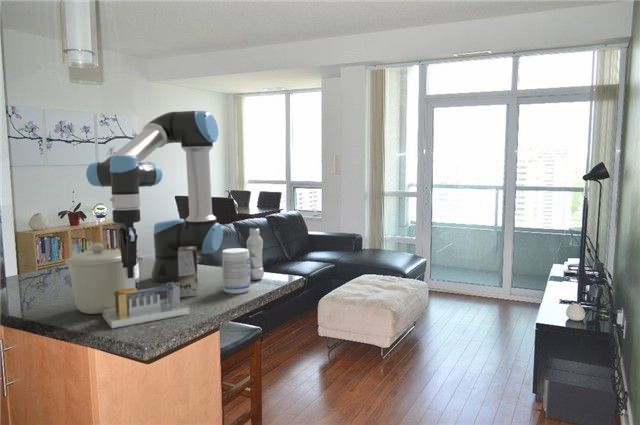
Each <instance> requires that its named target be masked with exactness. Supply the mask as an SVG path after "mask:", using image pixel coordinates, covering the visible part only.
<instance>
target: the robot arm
mask: <svg viewBox="0 0 640 425" xmlns="http://www.w3.org/2000/svg"><path fill="white" fill-rule="evenodd" d="M218 137H219V127H218V122H217V120H216V118H215V117H214V115H213V114H212V113H211V112H209V111H208V110H207V111H206V110H185V111H170V112H166V113H164V114H161V115H160V116H157V117H155V118H153V119H152V120H151V121H149V122H147V124H145V125H144V126H143V128H142V131H141V132H139V134H137V135H136V136H135V137H133V138H132V139H131V140H130V141H128V142H127V143H126V144H124V146H122V147H121V148H120V149H118V150H117V151H115V152H114V153H113V154H112V155H111V156H109V157H108V158H107V159H105V160H104V161H101V162H100V161H97V162H93V163H90V164H89V165H88V166H87V168H86V178H87V182H88V183H89V184H90V185H92V187H101V188H104V187H109V188H110V187H111V197H109V201H110V202H111V203H112V204H111V207H112V208H113V210H112V222H113V223H114V224H120V228H118V231H117V234H118V237H119V249H120V250H119V251H121V262H122V263H123V268H124V284H125V289H132V288H136V271H135V270H136V268H135V267H136V266H137V249H138V247H137V244H138V242H137V241H138V234H137V230H136V228H135V225H134V224H135V223H139V222H140V221H141V209H139V208H140V207H141V200H140V198H141V197H140V194H141V193H140V188H143V187H150V188H151V187H153V186H157V185H158V184H159V183H161V181H162V178H163V171H162V168H161V167H160V165H159V164H157V163H155V162H151V161H144V160H145V159H146V158H147V157H148V156H150V154H152V153H153V152H154V151H155V150H157V149H158V148H160V149H161V148H162V147H164V146H166V145H168V144H175V143H178V144H180V145H181V146H180V147H181V149H182V150H183V151H184V152H185V161H186V178H187V179H186V180H187V193H188V194H187V196H188V212H189V214H188V216H187V217H186V218H177V219H168V220H164V221H158V222H156V223H155V224H154V226H153V243H154V257H155V258H154V262H153V267H152V270H151V274H150V275H151V276H150V277H151V279H150V280H151V281H153V282H156V283H170V282H173V283H175V282H177V283H178V282H179V273H178V248H179V247H185V246H197V254H214V253H216V252H217V251H218V250H219V249H220V247H221V245H222V242H223V237H224V236H223V235H224V229H223V226H222V224H220V223H219V222H217V216H215V215H214V214H213V205H212V204H213V202H212V201H213V200H212V184H211V183H212V181H211V166H210V165H211V164H210V162H211V161H210V151H211V150H212V149H213V148H214V143H215V142H217V140H218ZM143 161H144V162H143Z"/></svg>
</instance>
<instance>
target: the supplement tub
mask: <svg viewBox="0 0 640 425" xmlns="http://www.w3.org/2000/svg"><path fill="white" fill-rule="evenodd" d="M221 253H222V254H221V260H222V261H221V266H222V268H221V270H222V284H223V285H222V286H223V287H222V288H223V290H222V291H223V292H225V293H226V294H231V295H233V294H235V295H237V294H243V293H248V292H249V291H250V290H251V279H250V262H249V250H248V249H247V248H243V247H239V248H238V247H236V248H235V247H234V248H226V249H223V250H222V251H221Z"/></svg>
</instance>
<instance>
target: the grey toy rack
mask: <svg viewBox="0 0 640 425" xmlns="http://www.w3.org/2000/svg"><path fill="white" fill-rule="evenodd" d="M165 284H166V285H165V286H169V284H174V285H175V282H165ZM171 288H172V290H166V298H161V297H160V294H159V293H158V292H151V293H145V294H138V295H131V296H126V294H118V297H117V298H116V297H115V296H114V297H115V307H112V308H106V309H102V313H101V315H102V318H103V319H104V320H105V321H106V322H107V324H108V325H109V327H110V328H111V329H116V328H122V327H127V326H132V325H133V326H134V325H137V324H143V323H148V322H154V321H159V320H164V319H169V318H174V317H180V316H186V315H190V307H189V306H188V305H186V304H185V303H184V302H182V301H181V297H180V289H179V285H175V286H171ZM114 293H117V291H114ZM160 298H161V299H160Z"/></svg>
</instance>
